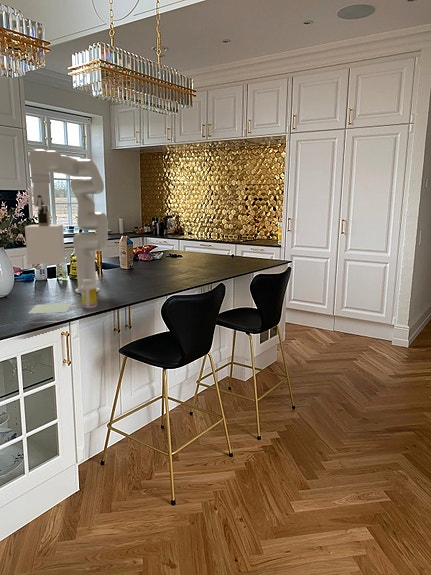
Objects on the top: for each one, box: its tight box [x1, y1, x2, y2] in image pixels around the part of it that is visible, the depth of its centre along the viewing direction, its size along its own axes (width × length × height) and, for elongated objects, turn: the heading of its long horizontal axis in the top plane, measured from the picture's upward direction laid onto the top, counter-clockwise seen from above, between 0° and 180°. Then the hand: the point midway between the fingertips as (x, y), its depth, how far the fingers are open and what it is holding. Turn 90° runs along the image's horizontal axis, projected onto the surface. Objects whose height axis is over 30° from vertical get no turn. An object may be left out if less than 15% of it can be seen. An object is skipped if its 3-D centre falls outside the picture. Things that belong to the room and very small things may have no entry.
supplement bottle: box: [80, 279, 98, 309], centre depth 202 cm, size 7×7×13 cm
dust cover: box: [24, 210, 66, 265], centre depth 194 cm, size 13×13×22 cm
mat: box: [28, 302, 72, 315], centre depth 200 cm, size 16×16×1 cm
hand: (44, 222), depth 192 cm, fingers closed on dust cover, 4 cm apart
